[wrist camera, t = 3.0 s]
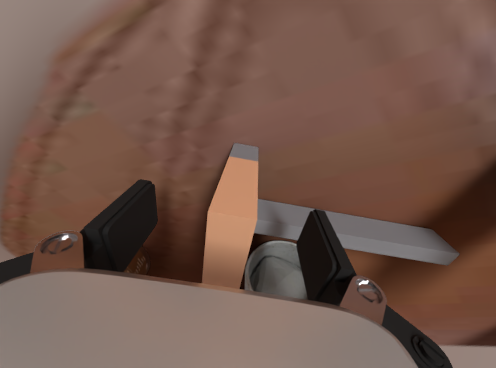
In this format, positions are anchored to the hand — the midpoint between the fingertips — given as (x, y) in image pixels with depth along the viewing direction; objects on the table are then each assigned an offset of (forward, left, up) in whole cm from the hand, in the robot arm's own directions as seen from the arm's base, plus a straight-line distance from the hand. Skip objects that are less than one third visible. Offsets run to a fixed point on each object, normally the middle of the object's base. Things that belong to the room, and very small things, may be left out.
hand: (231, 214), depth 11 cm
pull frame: (-9, +8, -6) cm, 14 cm away
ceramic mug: (-8, +11, -7) cm, 15 cm away
